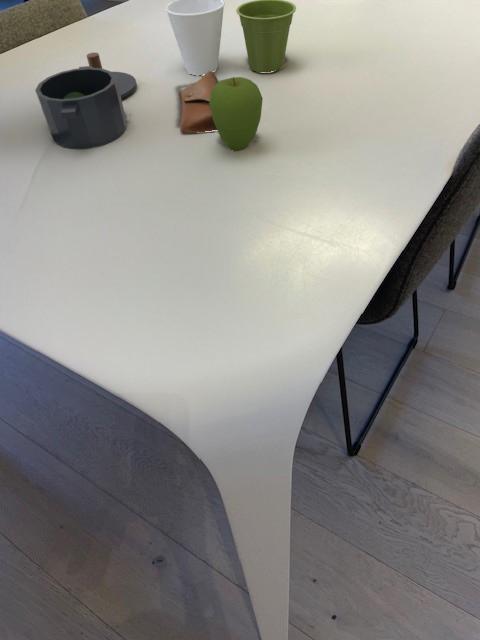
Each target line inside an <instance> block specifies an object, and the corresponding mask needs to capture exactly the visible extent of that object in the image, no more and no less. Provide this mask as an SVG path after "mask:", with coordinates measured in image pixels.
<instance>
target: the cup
mask: <svg viewBox="0 0 480 640" xmlns="http://www.w3.org/2000/svg"><path fill="white" fill-rule="evenodd" d="M224 8H225V1H224V0H173V1H170V2H169V3H167V4H166V6H165V9H164V10H165V12H166V13H167V17H168V21H169V22H170V25H171V29H172V31H173V34H174V37H175V41H176V44H177V46H178V49H179V52H180V53H179V54H180V56H181V58H182V62H183V64H184V65H183V66H184V68H185V71H186V73H187V74H188V73H189V74H188V75H190V74H193V75H203V74H206V73H208V72H209V71H211V72H213V71H215V70H216V69H217V68H218V69H219V60H220V50H221V49H220V48H221V39H222V29H223V18H224V17H223V16H224ZM218 69H217V70H218ZM193 75H192V76H193Z"/></svg>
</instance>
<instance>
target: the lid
mask: <svg viewBox="0 0 480 640" xmlns="http://www.w3.org/2000/svg"><path fill="white" fill-rule="evenodd" d="M86 59H87V63H88V66H92V68H102V69H103V65H102V61H101V58H100V54H99V52H90V53H87V54H86ZM111 72H112V73H113V74H114V75H115V76H116V79H117V83H118V87H119V91H120V95H121V99H123V98H125V97H127V96H128V95H130V94H132V93H133V92H134V91H135V90H136V87H137V80H136V78H135V77H134V75H132V74H130V73H127V72H122V71H111Z"/></svg>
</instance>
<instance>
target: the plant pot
mask: <svg viewBox="0 0 480 640" xmlns="http://www.w3.org/2000/svg"><path fill="white" fill-rule="evenodd" d="M296 10H297V6H296V4H294V3H292V2H291V1H287V0H252V1H246V2H243V3H242V4H240V5H238V6H237V8H236V10H235V12H236V14H237V15H238V16H239V20H240V25H241V27H242V33H243V37H244V42H245V43H244V44H245V48H246V55H247V60H248V65H249V69H250V70H251V71H252V70H254V72H257V73H258V72H271V71H275V70H277V71H279V70H281V69H280V68H282V67H283V68H284V63H285V59H286V58H285V57H286V51H287V45H288V40H289V33H290V28H291V25H292V23H293V22H292V21H293V17H294V14H295V12H296ZM283 68H282V69H283ZM278 69H279V70H278Z"/></svg>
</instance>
